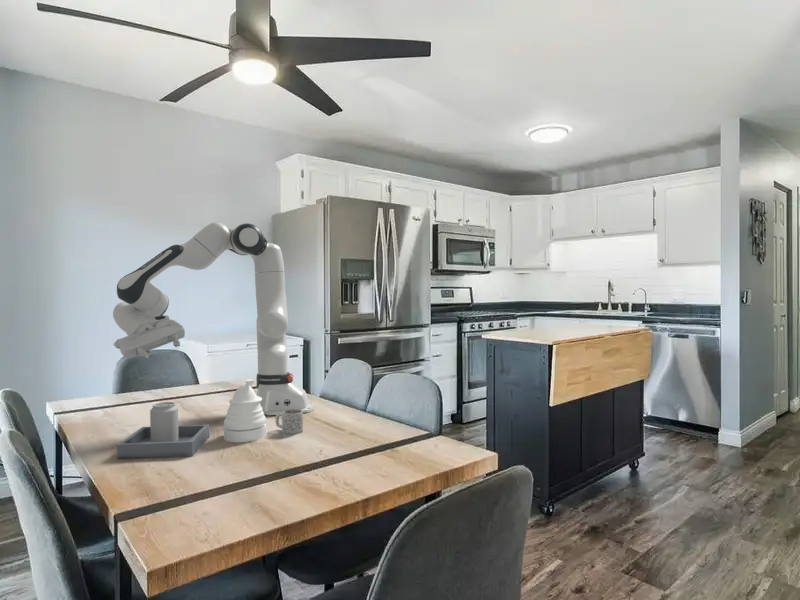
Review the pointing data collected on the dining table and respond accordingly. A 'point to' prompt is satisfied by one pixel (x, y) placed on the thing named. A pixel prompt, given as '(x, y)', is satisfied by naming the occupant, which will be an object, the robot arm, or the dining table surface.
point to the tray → (163, 443)
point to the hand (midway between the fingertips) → (164, 350)
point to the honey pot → (245, 416)
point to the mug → (290, 421)
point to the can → (164, 422)
